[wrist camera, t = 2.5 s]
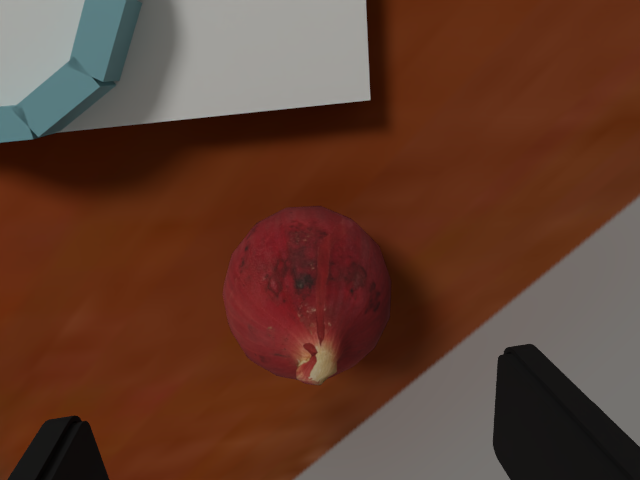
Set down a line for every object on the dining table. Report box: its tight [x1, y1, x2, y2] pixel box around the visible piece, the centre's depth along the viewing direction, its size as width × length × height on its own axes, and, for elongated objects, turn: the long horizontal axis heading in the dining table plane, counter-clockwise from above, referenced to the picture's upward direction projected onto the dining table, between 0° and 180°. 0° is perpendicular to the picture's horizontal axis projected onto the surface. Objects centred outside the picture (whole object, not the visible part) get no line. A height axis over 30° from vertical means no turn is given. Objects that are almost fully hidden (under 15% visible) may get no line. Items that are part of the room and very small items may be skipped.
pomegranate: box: [223, 206, 391, 385], centre depth 15 cm, size 6×6×8 cm
